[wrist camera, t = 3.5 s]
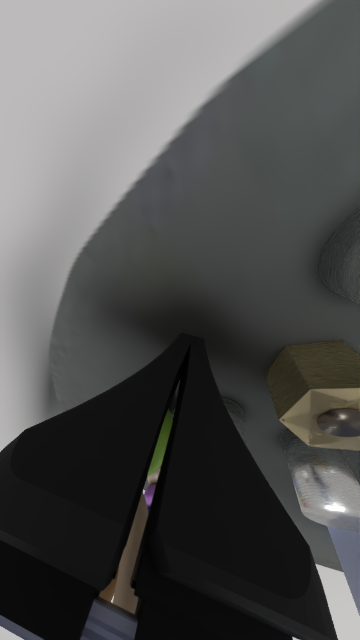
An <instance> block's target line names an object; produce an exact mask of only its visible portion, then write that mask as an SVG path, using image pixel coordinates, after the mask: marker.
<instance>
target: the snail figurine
mask: <svg viewBox="0 0 360 640" xmlns="http://www.w3.org/2000/svg"><path fill="white" fill-rule="evenodd" d="M172 422H173V419H172V415H171V413H170V411H169V409H168V411H167V414H166V416H165V419H164V422H163V425H162V429H161V432H160V435H159V438H158V442H157V445H156V448H155V452H154V455H153V458H152V462H151V465H150V468H149V472H148V475H147V476H149V475H150V474H152V473H153V472H155V471H156V470H157V469H158V468H159V467H160V466H161V464H162V460H163V457H164V453H165V449H166V445H167V442H168V438H169V434H170V430H171V426H172ZM147 516H148V510H147V503H146V499H145V496H144V494H143V492H142V495H141V498H140V501H139V505H138V508H137V511H136V515H135V518H134V521H133V525H132V528H131V531H130V535H129V538H128V541H127V545H126V547H125V548H124V551H123V554H122V557H121V560H120V564H119V567H118V570H117V573H116V577H115V579H112V581H111V583H110V584H109V585H108V586H107V587H106V588H105V589H104V590H103V591H101V592H100V595H99V597H101V598H103V599H105V600H107V601H109V602H111V600H112V597H113V595H114V600H113V604H115V605H117V606H119V607H121V608H123V609H125V610H127V611H129V612H131V613H133V614H135V610H136V606H137V602H138V597H137V596H135V595H134V591H135V589H133V588H131V586H130V580H131V576H132V572H133V569H134V565H135V561H136V557H137V554H138V550H139V546H140V542H141V539H142V535H143V531H144V528H145V524H146V520H147ZM114 593H115V594H114Z"/></svg>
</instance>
